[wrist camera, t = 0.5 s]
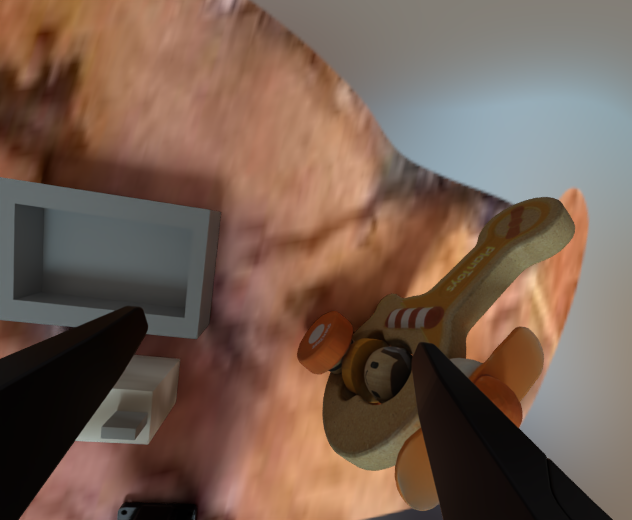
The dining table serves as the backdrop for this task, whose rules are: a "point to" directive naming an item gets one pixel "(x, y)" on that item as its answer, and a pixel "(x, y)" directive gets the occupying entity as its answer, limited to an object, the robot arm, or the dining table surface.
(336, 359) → the toy helicopter
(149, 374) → the white block with tab
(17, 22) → the dining table surface
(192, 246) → the cradle
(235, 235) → the dining table surface
